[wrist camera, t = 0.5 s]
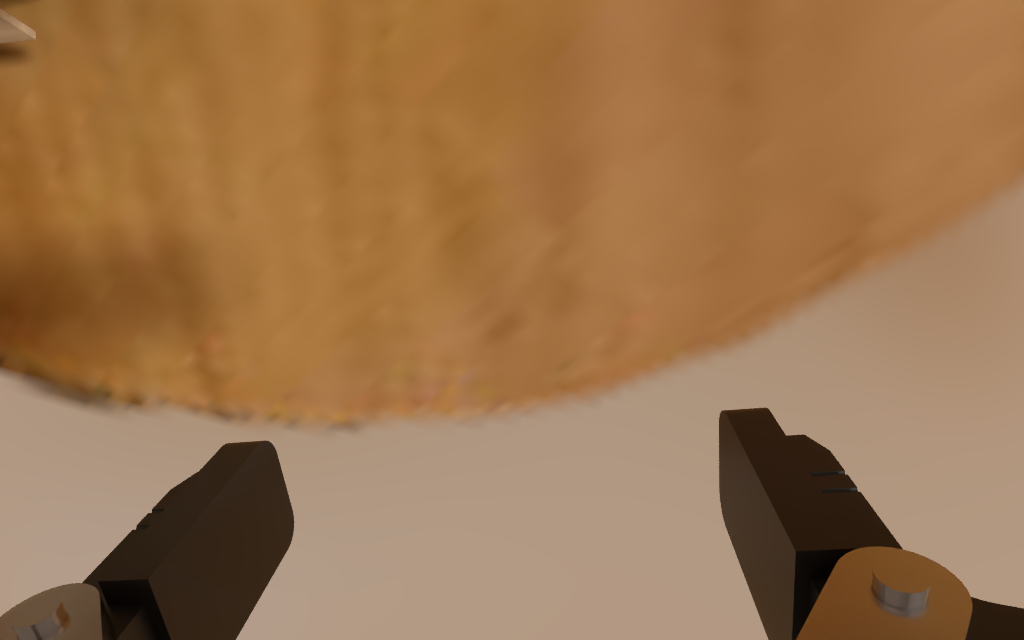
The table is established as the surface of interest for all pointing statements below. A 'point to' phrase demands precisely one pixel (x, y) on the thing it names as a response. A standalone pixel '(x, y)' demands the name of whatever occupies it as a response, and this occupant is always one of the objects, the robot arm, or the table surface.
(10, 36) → the carton
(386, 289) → the table surface
